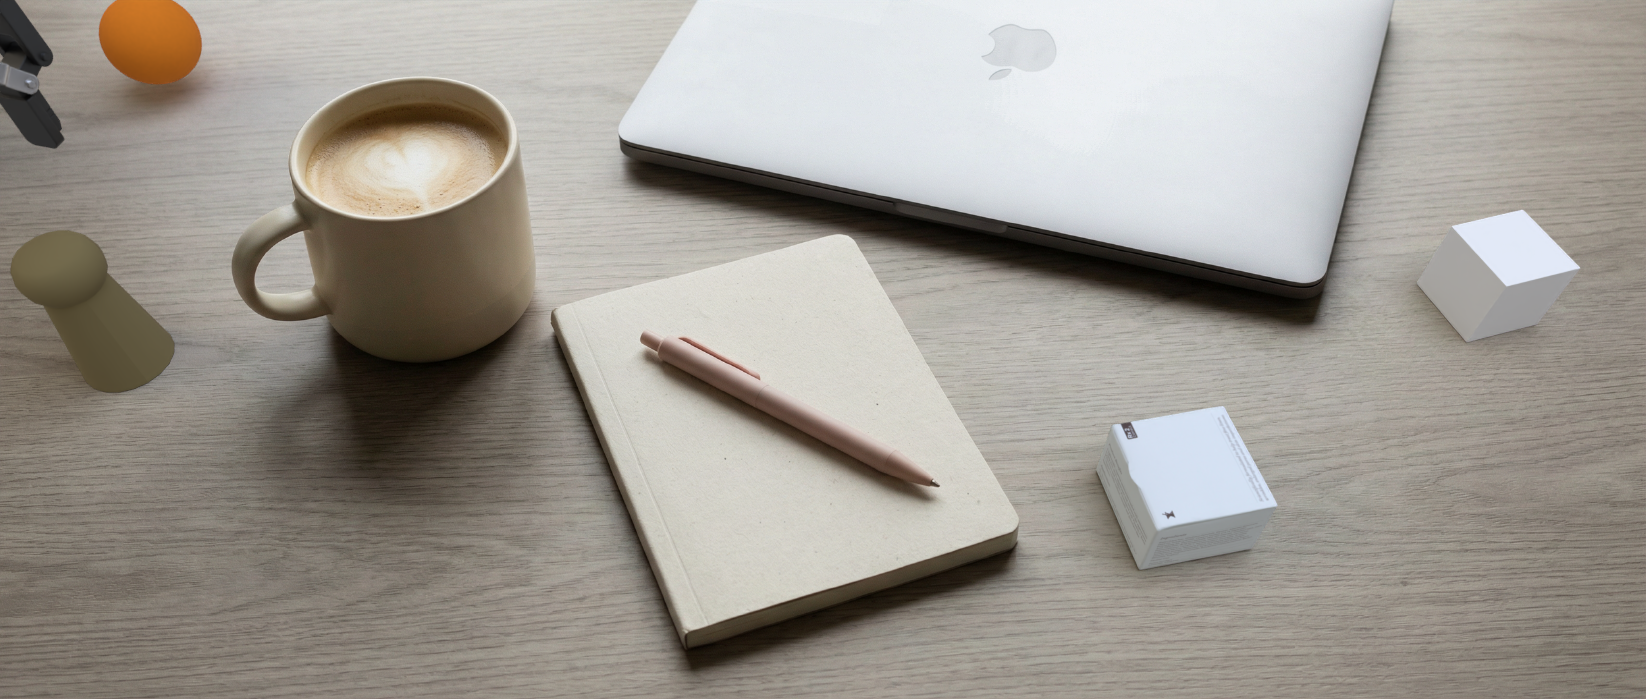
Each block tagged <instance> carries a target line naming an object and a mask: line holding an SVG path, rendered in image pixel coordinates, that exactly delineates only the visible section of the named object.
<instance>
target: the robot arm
mask: <svg viewBox="0 0 1646 699" xmlns="http://www.w3.org/2000/svg"><path fill="white" fill-rule="evenodd" d="M0 55H1V56H2V59H1V60H0V106H1V107H2V109H3V110H4V111H5V113H6V114H7V116H8V117H9V118H10V119H11V121H12V122H13V124H14V125H15V127H16V128H17V129H18V131H19V132H20V133H21V135H22V136H23V137H24V139H25V140H26V141H27V142H28V143H30V144H31V145H33V146H37V147H43V148H49V149H54V150H56V149H58V148H59V147H60V145H62V143H64V142H65V140H66V139H65V137H64V135H63V133H62V132H61V131H62V130H63V126H62V122H61V120H60V119H59V117H58V115H57V114H56V113H55V111H54V110H53V108H52V107H51V105H50V104H49V102H48V100H47V99H46V97H45V96H44V95H43V93H42V92H41V90H40V80H39V78H38V76H39V73H40V71H41V69H42V68H44V67H45V68H48V67H50V66H51V65H52V64H53V61H54V53H53V51H52V49H51V48H50V47H49V45H48V43H47V42H46V41H45V40H44V38H43V37H42V35H41V34H40V33H39V31H38V30H37V29H36V27H35V26H34V25H33V23H32V22H31V21H30V19H29V17H28V16H27V14H26V13H25V12H24V11H23V9H22V8H21V6H20V5H19V4H18V2H17V1H16V0H0Z"/></svg>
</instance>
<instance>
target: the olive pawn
mask: <svg viewBox="0 0 1646 699" xmlns="http://www.w3.org/2000/svg"><path fill="white" fill-rule="evenodd" d="M108 268H109V265H108V261H107V257H106V255H105V254H104V251H103V250H102V248H101V247H100V245H99V244H98V243H97V242H95V241H94V240H93V239H91V238H90V237H89V236H87V235H86V234H83V233H81V232H77V231H74V230H70V229H57V230H54V231H48V232H47V231H46V232H45V233H42V234H40V235H36V236H35V237H33V238H31V239H29V240H27V241H26V242H25V243H24V244H22V246H21V247H19V248H18V249H17V250H16V252H15V253H14V255H13V257H12V258H11V263H10V271H9V273H10V276H11V279H12V281H13V285H14V286H15V288H16V289H17V290H18V292H19V293H20V294H21V295H22V296H24V297H25V298H26V299H27V300H29V301H30V302H32V303H33V304H36V305H39V306H42V307H43V308H44V310H45V311H46V314H47V315H48V317H49V319H50V321H51V322H52V324H53V326H54V328H55V330H56V332H57V333H58V335H59V337H60V338H61V340H62V342H63V344H64V346H65V348H66V349H67V351H68V353H69V354H70V356H71V358H72V360H73V361H74V363H75V365H76V366H77V369H78V371H79V372H80V374H81V376H82V377H83V379H84V381H85V383H86V384H88V386H90V387H91V388H92V389H94V390H97V391H99V392H103V393H122V392H126V391H127V392H128V391H131V390H135V389H137V388H139V387H141V386H144V385H145V384H148V383H149V382H151V381H152V380H154V379H155V378H157V377H158V376H159V375H161V374H162V372H164V370H165V369H167V367H168V366H169V364H170V363H171V361H172V358H173V356H174V354H175V344H176V343H175V340H174V339H173V337H172V334H170V333H169V332H168V331H167V330H166V328H165V327H163V326H162V325H161V324H160V323H159V322H158V321H157V320H156V319H155V318H154V317H153V315H151V313H149V312H148V311H147V310H146V309H145V308H144V307H143V306H142V305H141V304H140V303H139V302H138V301H137V300H136V299H135V298H134V297H133V296H132V295H131V294H130V293H129V292H128V291H127V290H126V289H125V288H124V287H123V286H122V285H120V283H119V282H118V281H117V280H116V279H115V278H114V277H113V276H112V275H111V274H110V273H108V270H109V269H108Z"/></svg>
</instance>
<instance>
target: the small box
mask: <svg viewBox="0 0 1646 699" xmlns="http://www.w3.org/2000/svg"><path fill="white" fill-rule="evenodd" d="M1105 440H1106V441H1105V443H1104V446H1103V448H1102V451H1101V454H1100V457H1099V459H1098V463H1097V465H1096V469H1095V471H1096V473H1097V475H1098V478H1099V480H1100V482H1101V485H1102V487H1103V490H1104V491H1105V494H1106V496H1107V499H1108V501H1109V503H1110V506H1111V508H1112V511H1113V514H1114V515H1115V517H1116V519H1117V520H1116V521H1117V522H1118V524H1119V527H1120V529H1121V532H1122V534H1123V536H1124V538H1125V541H1126V543H1127V546H1128V548H1129V550H1130V552H1131V555H1132V557H1133V559H1134V561H1135V564H1136V566H1137V569H1138V570H1140V571H1141V570H1146V569H1148V570H1149V569H1153V568H1157V567H1158V568H1159V567H1165V566H1168V565H1169V566H1170V565H1174V564H1180V563H1185V562H1189V561H1194V560H1199V559H1207V558H1211V557H1216V556H1222V555H1227V554H1232V553H1237V552H1243V551H1248V550H1251V549H1253V548H1254V547H1255V545H1256V543H1257V541H1258V540H1259V538H1260V536H1261V534H1262V533H1263V531H1264V530H1265V527H1266V526H1267V525H1268V522H1269V521H1270V519H1271V517H1272V516H1273V514H1274V513H1275V511H1276V510H1277V507H1278V506H1279V505H1278V503H1277V501H1276V499H1275V496H1274V495H1273V493H1272V491H1271V490H1270V488H1269V485H1268V484H1267V482H1266V480H1265V478H1264V476H1263V474H1262V473H1261V471H1260V469H1259V467H1258V466H1257V464H1256V462H1255V461H1254V459H1253V457H1252V455H1251V453H1250V451H1249V450H1248V448H1247V446H1246V444H1245V442H1244V440H1243V439H1242V437H1241V435H1240V433H1239V431H1238V430H1237V428H1236V426H1235V424H1234V421H1233V420H1232V419H1231V417H1230V415H1229V413H1228V411H1227V408H1226V407H1225V406H1223V405H1221V406H1220V405H1219V406H1213V407H1207V408H1201V409H1195V410H1190V411H1184V412H1179V413H1173V414H1167V415H1161V416H1157V417H1156V416H1155V417H1149V418H1145V419H1139V420H1133V421H1127V422H1122V423H1114V424H1112V425H1111V426H1110V428H1109V431H1108V434H1107V437H1106V439H1105Z"/></svg>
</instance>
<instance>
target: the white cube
mask: <svg viewBox="0 0 1646 699" xmlns="http://www.w3.org/2000/svg"><path fill="white" fill-rule="evenodd" d="M1580 270H1581V267H1580V266H1579V265H1578V264H1577V263H1576V261H1575V260H1573V259H1572V257H1570V256H1569V255H1568V253H1566V252H1565V250H1564V249H1562V248H1561V247H1560V245H1559V244H1558V243H1557V242H1556V241H1555V240H1554V239H1553V238H1552V237H1551V236H1550V235H1549V234H1548V233H1547V232H1546V231H1545V230H1544V229H1543V228H1542V227H1541V226H1540V225H1539V224H1538V223H1537V222H1536V221H1535V220H1534V219H1533V218H1532V217H1531V216H1530V215H1529V214H1528V213H1527V212H1526V211H1525V210H1524V209H1519V210H1515V211H1514V210H1513V211H1510V212H1507V213H1502V214H1497V215H1493V216H1487V217H1485V218H1484V217H1483V218H1480V219H1475V220H1471V221H1468V222H1463V223H1459V224H1455V225H1451V226H1450V228H1449V229H1448V231H1447V233H1446V234H1445V236H1444V237H1443V238H1442V240H1441V242H1440V244H1439V245H1438V247H1437V249H1436V250H1435V252H1434V253H1433V255H1432V256H1431V258H1430V260H1429V262H1428V263H1427V265H1426V267H1425V268H1424V269H1423V271H1422V273H1421V274H1420V275H1419V278H1418V279H1417V281H1416V285H1417V286H1418V287H1419V288H1420V289H1421V291H1422V292H1423V293H1424V294H1425V296H1426V297H1427V298H1428V299H1429V301H1431V302H1432V303H1433V305H1434V306H1435V307H1436V308H1437V310H1438V311H1439V312H1440V313H1441V314H1442V316H1443V317H1444V318H1445V319H1446V320H1447V321H1448V322H1449V324H1450V325H1451V326H1452V327H1453V328H1454V330H1455V331H1456V333H1458V334H1459V335H1460V336H1461V338H1462V339H1463V340H1464V341H1465V343H1469V342H1474V341H1478V340H1483V339H1486V338H1490V337H1493V336H1497V335H1501V334H1505V333H1509V332H1513V331H1518V330H1520V329H1526V328H1529V327H1532V326H1537V325H1538V324H1539V323H1540V322H1541V320H1542V319H1543V318H1544V316H1545V315H1546V313H1547V312H1548V311H1549V310H1550V308H1551V307H1552V306H1553V305H1554V303H1555V302H1556V301H1557V299H1558V298H1559V297H1560V296H1561V294H1562V293H1563V292H1564V291H1565V289H1566V288H1567V287H1568V285H1569V284H1570V282H1571V281H1572V280H1573V279H1574V277H1575V276H1576V275H1577V273H1579V271H1580Z"/></svg>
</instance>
